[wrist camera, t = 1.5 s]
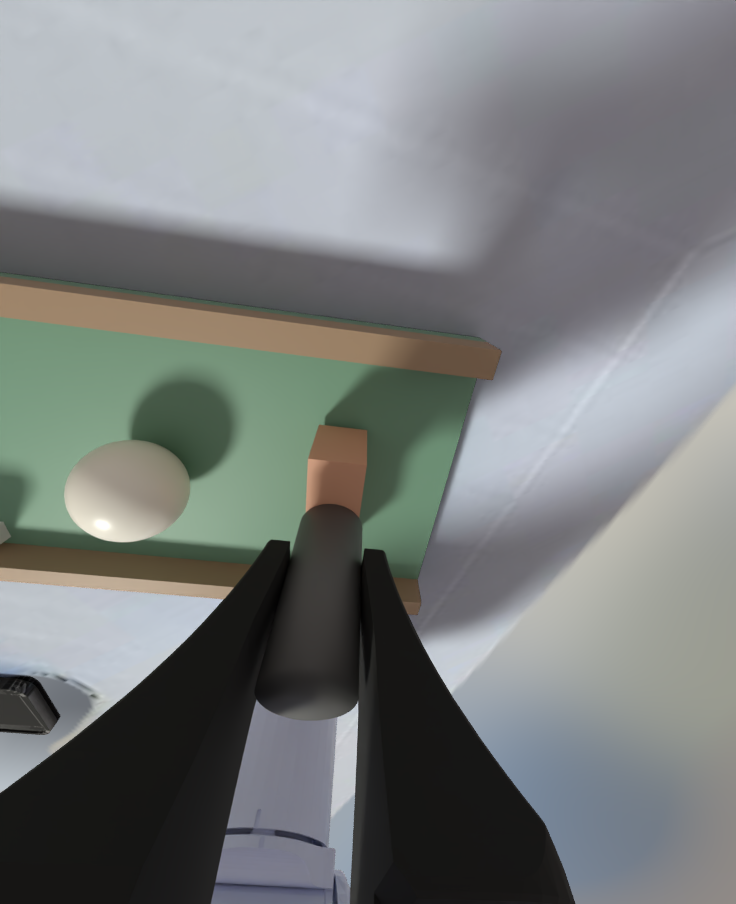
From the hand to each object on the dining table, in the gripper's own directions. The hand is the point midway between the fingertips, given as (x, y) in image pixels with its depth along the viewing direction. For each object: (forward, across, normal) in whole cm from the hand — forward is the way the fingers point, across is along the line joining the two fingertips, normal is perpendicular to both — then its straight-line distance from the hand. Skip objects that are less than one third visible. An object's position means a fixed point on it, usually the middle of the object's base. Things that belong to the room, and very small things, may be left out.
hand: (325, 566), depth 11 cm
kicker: (+5, 0, 0) cm, 5 cm away
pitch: (+6, +9, 0) cm, 11 cm away
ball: (+3, +8, 0) cm, 9 cm away
